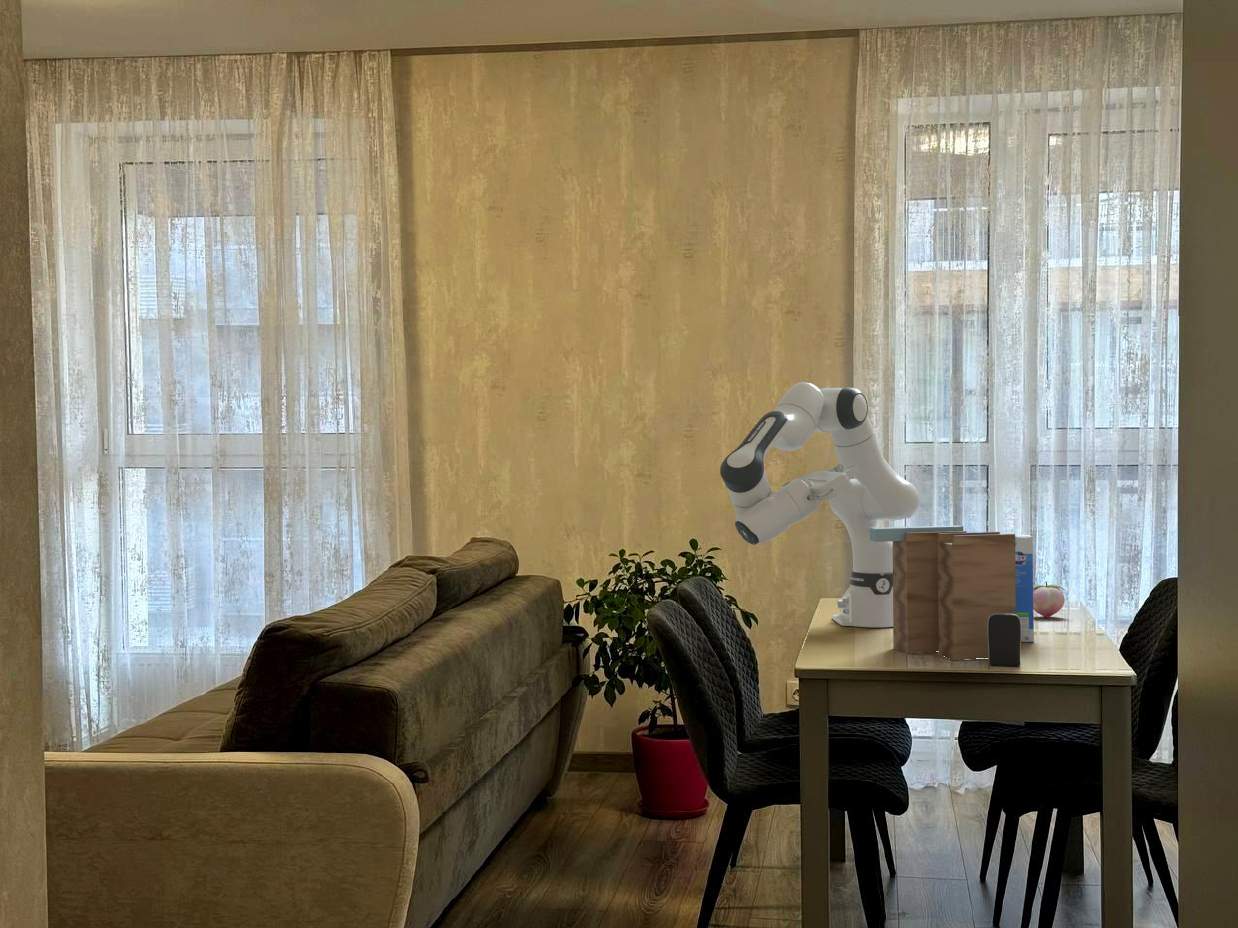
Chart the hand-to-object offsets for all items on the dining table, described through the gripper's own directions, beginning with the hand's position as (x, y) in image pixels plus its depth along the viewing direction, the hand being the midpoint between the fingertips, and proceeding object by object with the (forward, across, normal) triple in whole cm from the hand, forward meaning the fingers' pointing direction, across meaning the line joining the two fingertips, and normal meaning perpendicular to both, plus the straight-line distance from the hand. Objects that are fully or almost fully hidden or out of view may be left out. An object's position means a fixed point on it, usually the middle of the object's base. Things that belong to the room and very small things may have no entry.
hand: (849, 467), depth 296 cm
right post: (+1, -12, +50) cm, 52 cm away
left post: (-5, 0, +47) cm, 48 cm away
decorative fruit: (+42, +40, +74) cm, 94 cm away
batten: (+6, 0, +23) cm, 24 cm away
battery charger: (+1, -23, +51) cm, 56 cm away
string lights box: (+16, +8, +59) cm, 62 cm away
